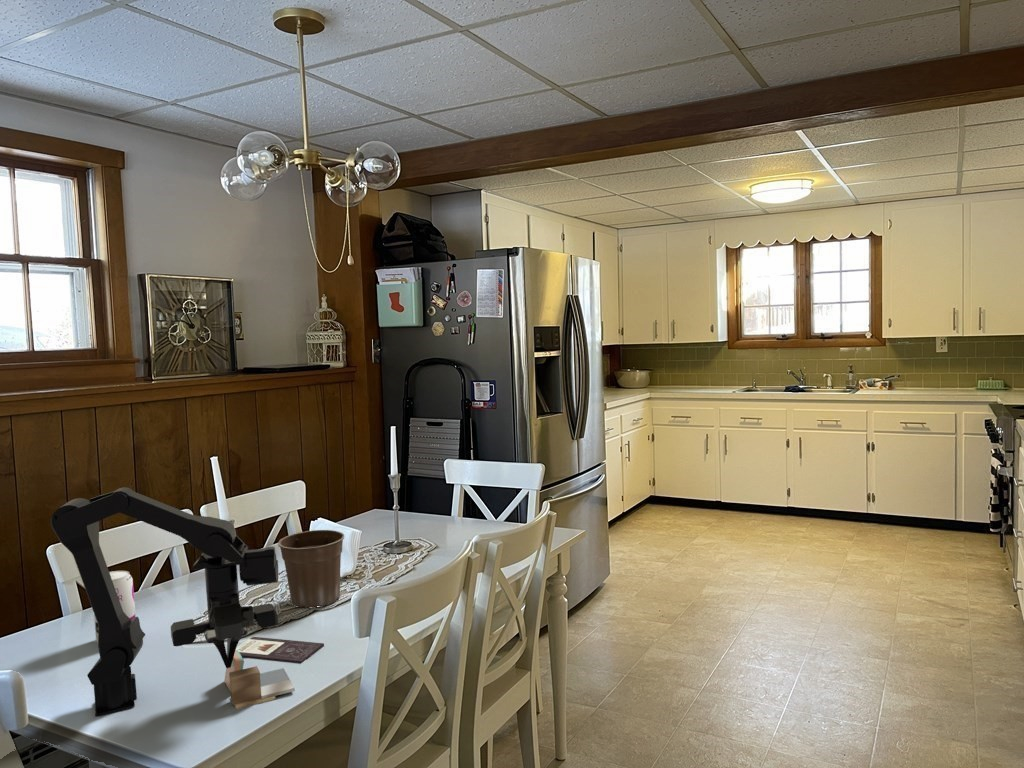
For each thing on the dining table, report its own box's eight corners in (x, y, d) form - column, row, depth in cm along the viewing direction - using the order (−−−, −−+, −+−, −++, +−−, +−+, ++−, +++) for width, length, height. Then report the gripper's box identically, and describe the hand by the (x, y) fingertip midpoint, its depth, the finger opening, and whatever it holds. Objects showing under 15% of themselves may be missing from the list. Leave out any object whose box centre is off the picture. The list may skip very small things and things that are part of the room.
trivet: (242, 695, 146) (242, 693, 146) (237, 680, 152) (237, 679, 152) (291, 683, 150) (291, 681, 150) (283, 669, 156) (283, 668, 156)
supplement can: (129, 629, 181) (124, 567, 180) (142, 639, 175) (137, 574, 174) (91, 640, 175) (86, 576, 174) (103, 650, 169) (98, 584, 168)
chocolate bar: (301, 661, 159) (227, 653, 164) (301, 665, 159) (227, 658, 164) (324, 643, 168) (252, 636, 173) (324, 647, 168) (253, 640, 173)
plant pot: (299, 617, 185) (295, 551, 184) (271, 601, 197) (267, 539, 196) (359, 599, 196) (356, 537, 194) (328, 585, 208) (325, 526, 206)
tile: (230, 692, 147) (235, 661, 147) (224, 680, 152) (229, 650, 152) (239, 692, 148) (244, 660, 148) (232, 680, 153) (237, 650, 153)
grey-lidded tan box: (233, 706, 141) (231, 679, 140) (230, 697, 144) (228, 671, 144) (294, 690, 146) (293, 665, 145) (290, 682, 149) (288, 657, 149)
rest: (236, 709, 141) (235, 706, 141) (231, 698, 145) (231, 695, 145) (275, 699, 144) (275, 696, 144) (270, 688, 148) (269, 685, 148)
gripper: (172, 611, 135) (179, 697, 136) (281, 590, 144) (286, 671, 145) (167, 593, 145) (174, 673, 146) (269, 574, 154) (274, 650, 155)
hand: (228, 667), depth 148 cm, fingers closed
